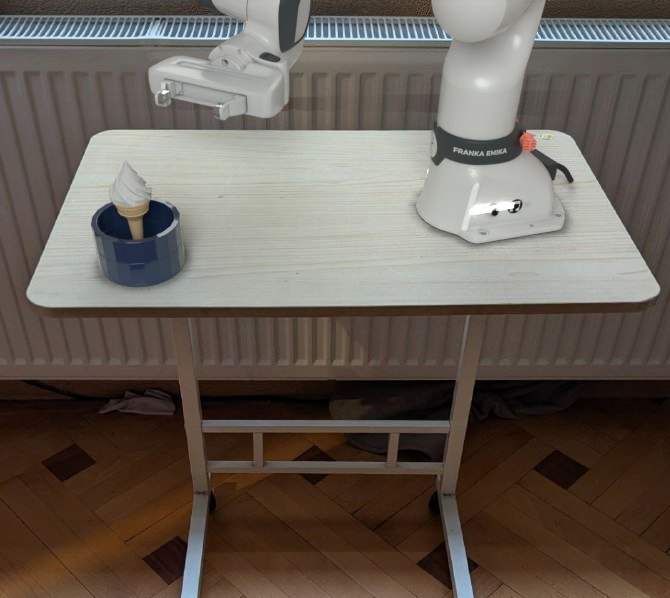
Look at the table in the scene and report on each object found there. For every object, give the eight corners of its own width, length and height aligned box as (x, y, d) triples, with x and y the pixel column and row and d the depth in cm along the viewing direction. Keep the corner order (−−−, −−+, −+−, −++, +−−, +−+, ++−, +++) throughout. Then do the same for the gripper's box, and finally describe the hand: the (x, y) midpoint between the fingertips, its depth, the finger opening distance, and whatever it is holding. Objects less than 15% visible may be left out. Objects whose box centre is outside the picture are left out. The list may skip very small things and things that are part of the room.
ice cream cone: (158, 271, 113) (143, 170, 103) (117, 269, 113) (98, 169, 103) (164, 248, 117) (151, 149, 107) (125, 246, 117) (107, 148, 107)
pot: (185, 237, 120) (180, 194, 116) (184, 284, 112) (179, 240, 107) (103, 241, 119) (95, 198, 114) (96, 289, 111) (87, 244, 106)
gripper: (175, 38, 125) (121, 71, 115) (297, 62, 119) (251, 99, 110) (180, 79, 129) (128, 114, 120) (298, 105, 123) (253, 143, 114)
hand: (188, 107), depth 115 cm, fingers open, 8 cm apart
